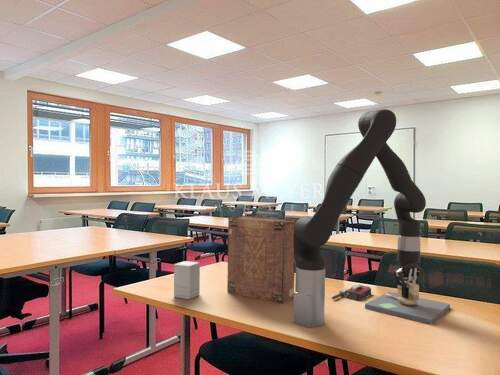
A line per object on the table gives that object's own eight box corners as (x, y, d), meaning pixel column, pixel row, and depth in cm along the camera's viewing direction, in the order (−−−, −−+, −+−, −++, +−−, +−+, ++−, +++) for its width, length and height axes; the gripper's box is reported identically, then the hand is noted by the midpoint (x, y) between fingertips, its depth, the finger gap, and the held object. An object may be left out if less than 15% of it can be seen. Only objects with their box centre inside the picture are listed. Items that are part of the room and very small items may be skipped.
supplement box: (200, 294, 145) (200, 262, 145) (189, 299, 139) (189, 266, 138) (184, 292, 148) (184, 260, 148) (173, 297, 142) (173, 263, 142)
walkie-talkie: (352, 290, 156) (329, 301, 141) (352, 279, 156) (329, 289, 141) (373, 294, 150) (351, 306, 135) (373, 283, 150) (351, 294, 135)
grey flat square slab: (431, 324, 118) (431, 319, 118) (364, 308, 132) (365, 303, 132) (449, 308, 134) (450, 303, 134) (389, 295, 149) (389, 291, 149)
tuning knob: (422, 304, 131) (422, 284, 131) (410, 306, 129) (411, 286, 129) (390, 294, 143) (391, 275, 143) (379, 296, 140) (380, 277, 140)
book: (226, 292, 150) (227, 217, 149) (239, 286, 157) (241, 215, 157) (282, 303, 136) (284, 221, 135) (294, 297, 143) (295, 219, 143)
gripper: (406, 251, 126) (405, 302, 126) (430, 248, 134) (429, 296, 134) (387, 248, 132) (386, 297, 132) (411, 245, 140) (410, 291, 140)
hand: (407, 296), depth 133 cm, fingers closed on tuning knob, 2 cm apart
